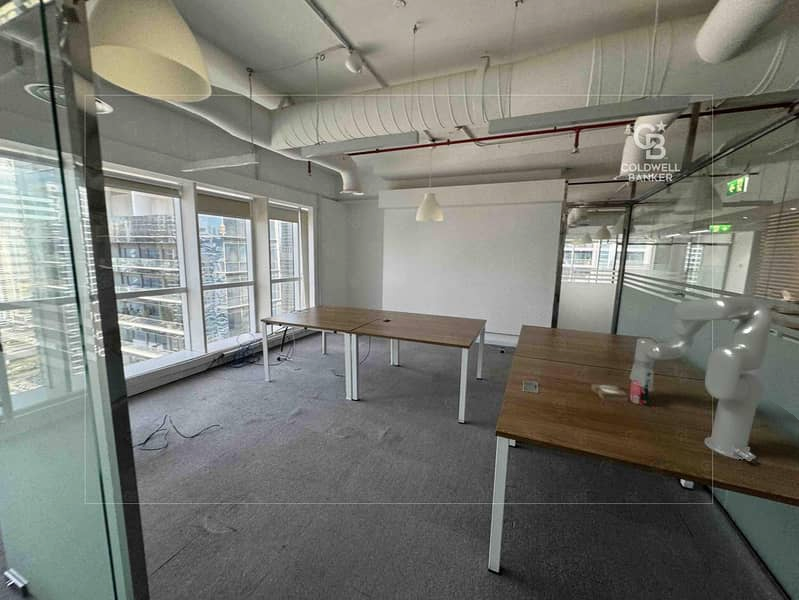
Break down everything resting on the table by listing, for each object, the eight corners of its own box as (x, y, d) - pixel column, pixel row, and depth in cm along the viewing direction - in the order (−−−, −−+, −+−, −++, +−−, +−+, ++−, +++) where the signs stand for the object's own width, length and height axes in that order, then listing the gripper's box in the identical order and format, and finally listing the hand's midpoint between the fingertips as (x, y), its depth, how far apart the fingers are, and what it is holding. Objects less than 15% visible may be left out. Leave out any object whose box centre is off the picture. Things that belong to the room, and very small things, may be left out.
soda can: (645, 401, 156) (648, 379, 154) (647, 407, 150) (651, 384, 148) (628, 397, 159) (631, 376, 157) (629, 403, 153) (633, 381, 151)
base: (627, 400, 156) (628, 395, 155) (603, 399, 157) (603, 393, 156) (613, 390, 168) (614, 384, 167) (591, 389, 169) (591, 383, 168)
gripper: (664, 370, 142) (659, 405, 145) (639, 357, 159) (634, 389, 162) (647, 369, 143) (642, 404, 146) (624, 356, 160) (620, 388, 163)
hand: (638, 396), depth 154 cm, fingers closed on soda can, 7 cm apart
